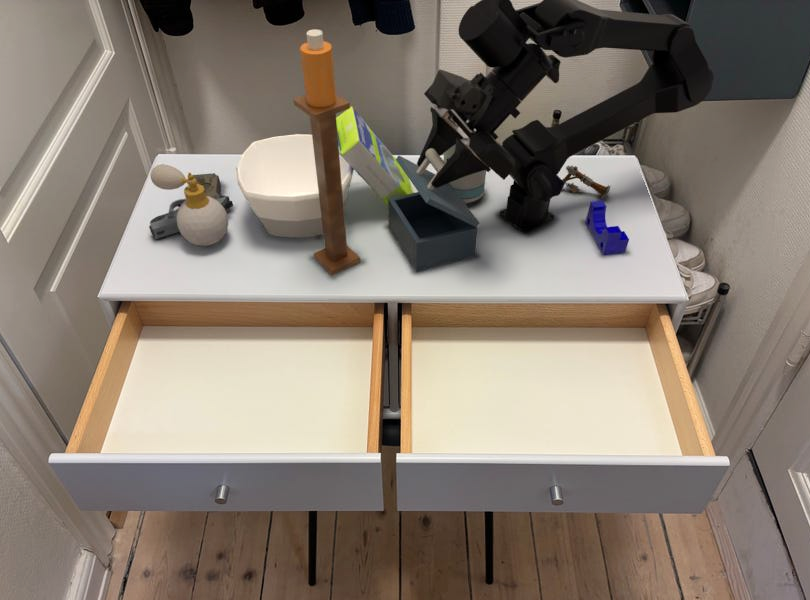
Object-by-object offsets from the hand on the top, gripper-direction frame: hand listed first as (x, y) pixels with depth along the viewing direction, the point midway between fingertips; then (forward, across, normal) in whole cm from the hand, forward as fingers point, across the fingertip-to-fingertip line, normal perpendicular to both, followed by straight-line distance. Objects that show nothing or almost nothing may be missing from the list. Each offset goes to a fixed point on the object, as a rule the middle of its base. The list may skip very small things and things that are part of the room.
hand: (426, 175), depth 93 cm
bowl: (+20, -14, -2) cm, 24 cm away
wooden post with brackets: (-13, -2, +29) cm, 32 cm away
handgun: (+32, -28, -16) cm, 45 cm away
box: (+7, -12, +9) cm, 16 cm away
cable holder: (-11, +9, +27) cm, 30 cm away
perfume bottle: (+31, -13, -14) cm, 37 cm away
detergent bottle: (+1, -1, -19) cm, 19 cm away
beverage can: (+1, -9, +16) cm, 19 cm away
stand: (+18, -1, -1) cm, 18 cm away
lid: (+1, 0, +3) cm, 4 cm away
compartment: (+7, 0, +9) cm, 12 cm away
